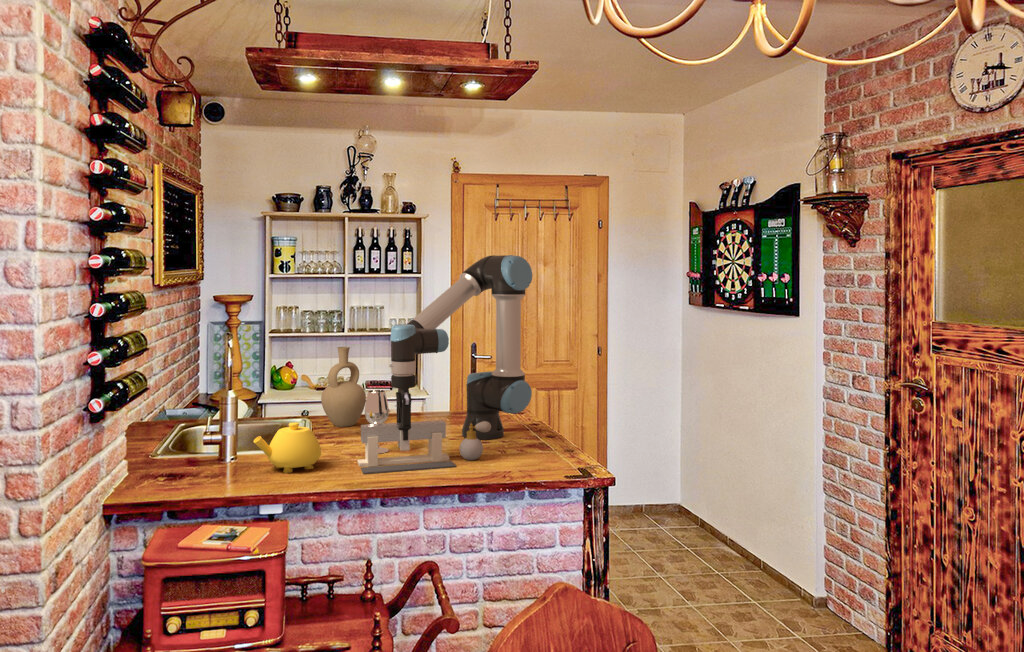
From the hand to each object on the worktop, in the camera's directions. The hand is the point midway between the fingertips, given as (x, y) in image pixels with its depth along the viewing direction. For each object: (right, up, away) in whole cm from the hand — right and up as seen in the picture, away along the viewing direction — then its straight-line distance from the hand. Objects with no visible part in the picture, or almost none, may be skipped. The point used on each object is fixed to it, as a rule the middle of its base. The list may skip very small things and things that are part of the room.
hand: (403, 448), depth 245 cm
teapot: (-34, -5, -9) cm, 35 cm away
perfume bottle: (+22, -4, +4) cm, 23 cm away
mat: (+3, -5, -8) cm, 9 cm away
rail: (0, +3, 0) cm, 3 cm away
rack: (0, -4, 0) cm, 4 cm away
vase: (-30, 0, +54) cm, 62 cm away
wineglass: (-11, -3, +14) cm, 18 cm away
